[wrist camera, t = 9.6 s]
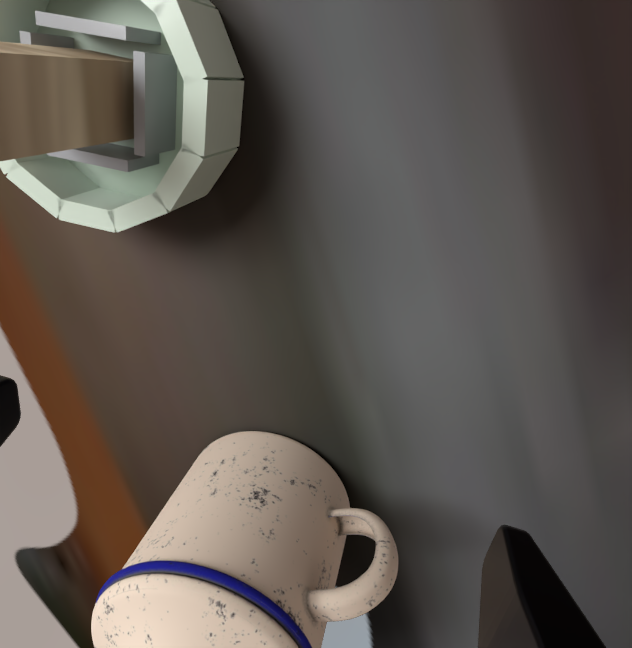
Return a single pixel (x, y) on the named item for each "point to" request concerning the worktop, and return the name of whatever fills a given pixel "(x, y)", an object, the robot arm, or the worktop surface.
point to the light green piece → (137, 108)
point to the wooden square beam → (62, 99)
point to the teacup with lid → (245, 555)
